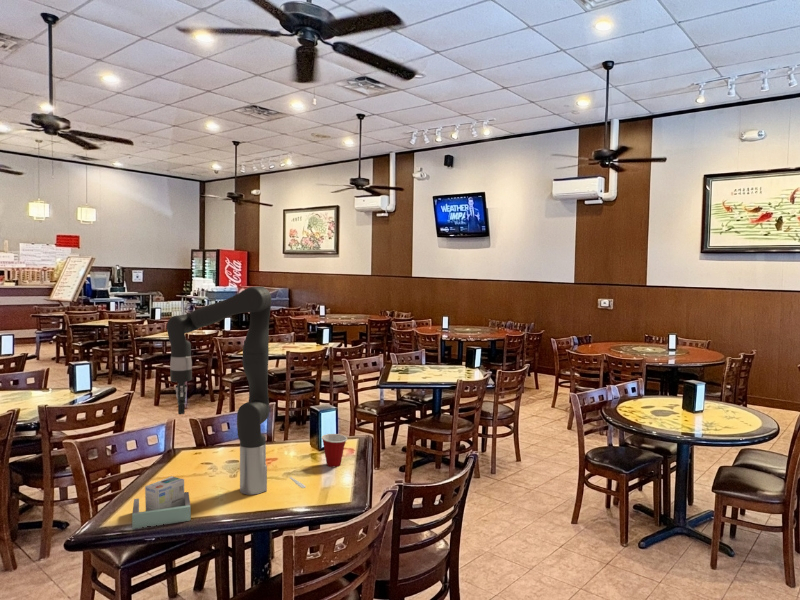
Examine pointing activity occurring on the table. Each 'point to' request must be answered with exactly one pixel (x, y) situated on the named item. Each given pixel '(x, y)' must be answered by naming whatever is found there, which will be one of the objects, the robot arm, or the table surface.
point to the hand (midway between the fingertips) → (181, 413)
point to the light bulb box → (165, 494)
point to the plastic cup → (333, 448)
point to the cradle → (161, 514)
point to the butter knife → (298, 483)
